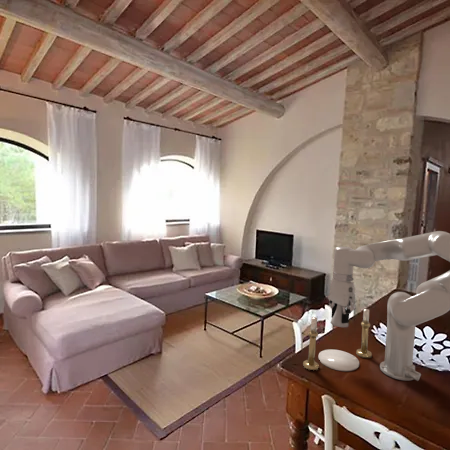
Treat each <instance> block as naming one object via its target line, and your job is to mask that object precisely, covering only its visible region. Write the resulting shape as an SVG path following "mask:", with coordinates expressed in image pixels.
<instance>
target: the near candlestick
mask: <svg viewBox="0 0 450 450" xmlns="http://www.w3.org/2000/svg"><path fill="white" fill-rule="evenodd" d="M317 327H318V317H316V316H312V317H311V321H310V330H309V331H308V336H309V345H308V356H307V357H308V358H307V359H306V360H304V361H303V362H302V365H303V366H304V367H303V366H302V367H303V368H304V369H305V368H306V370H307V369H308V370H307V371H310V370H313V371H312V372H315V371H314V370H316V371H318V370H319V369H318V368H320V367H319V363H318V362H316V361H315V357H316V356H315V355H316V341H317V337H319V332H318V331H317Z"/></svg>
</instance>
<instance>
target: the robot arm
mask: <svg viewBox="0 0 450 450" xmlns="http://www.w3.org/2000/svg"><path fill="white" fill-rule="evenodd" d="M333 254H334V255H333V268H332V271H333V272H332V278H331V283H330V285H329V286H330V287H329V294H328V296H327V300H328V301H329V304H330V308H331V318H333V316H334V314H335V311H336V308H337V304H339V305H341V306H342V308H343V314H342V323H348V324H349V322H350V321H349V320H350V314H351V313H352V312H353V311H355V310H356V309H357V308H356V305H355V303H356V294H355V290H356V289H355V282H353V281H354V277H353V276H354V275H353V274H354V267H355V268H359V269H370V268H371V267H373V266H374V265H375V263H376V262H380V261H383V260H386V261H387V260H397V261H413V260H417V259H422V258H427V257H434V256H438V257H440V258H441V259H444V260H446V261H448V262H449V263H450V233H449V232H447V231H442V230H436V231H431V232H425V233H421V234H417V235H411V236H406V237H403V238H397V239H391V240H386V241H378V242H373V243H370V244H365V245H360V246H358V247H357V248H356V249H354V248H352V247H350V246H343V245H341V246H336V247H335V248H334V252H333ZM415 290H416V291H415V293H416V294H414V295H413V296H412V295H411V294H409V293H407V292H405V291H395V292H394V293H392V294H391V295H390V296H389V298H388V299H387V306H386V307H387V309H386V310H387V311H386V313H387V315H386V318H387V319H386V321H387V322H386V332H385V333H386V336H385V351H384V361H382V362H380V364H379V369H380V371H381V372H382V373H383V374H385V375H386V376H388V377H390V378H392V379H395V380H399V381H404V382H405V381H413V380H415V381H417V382H418V381H419V380H420V378H421V376H422V374H421V372H418V371H416V365H415V364H413V363H414V349H415V348H414V347H415V338H416V337H415V335H416V326H418V325H421V324H423V323H425V322H428V321H431V320H434V319H435V318H438V317H441V316H443V315H445V314H447V313H448V312H449V311H450V269H449V270H448V271H446V272H444V273H442V274H441V275H438V276H436V277H433V278H431V279H429V280H426V281H424V282H421V284H419V285H418V286H417V287H416V289H415Z"/></svg>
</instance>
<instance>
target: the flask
mask: <svg viewBox="0 0 450 450" xmlns="http://www.w3.org/2000/svg"><path fill="white" fill-rule="evenodd" d="M342 314H343V308H342V306H341V305H339V304H337V308H336V311H335V314H334V316H333V318H332V317H331V318H332V319H331V320H330V324H331V325H332V326H333V327H338V328H349V326H350V324H349V322H348V323H342Z"/></svg>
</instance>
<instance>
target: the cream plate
mask: <svg viewBox="0 0 450 450" xmlns="http://www.w3.org/2000/svg"><path fill="white" fill-rule="evenodd" d="M317 358H318V360H320V361H319V362H320V363H321V364H322V365H323V366H325V367H326V368H329V369H332V370H335V371H340V372H353V371H355V370H358V368H359V367H360V361H359V359H358V358H357V357H356V356H355V355H353V354H351V353H349V352H346V351H344V350H339V349H324V350H322V351H319V353H318V357H317Z"/></svg>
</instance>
